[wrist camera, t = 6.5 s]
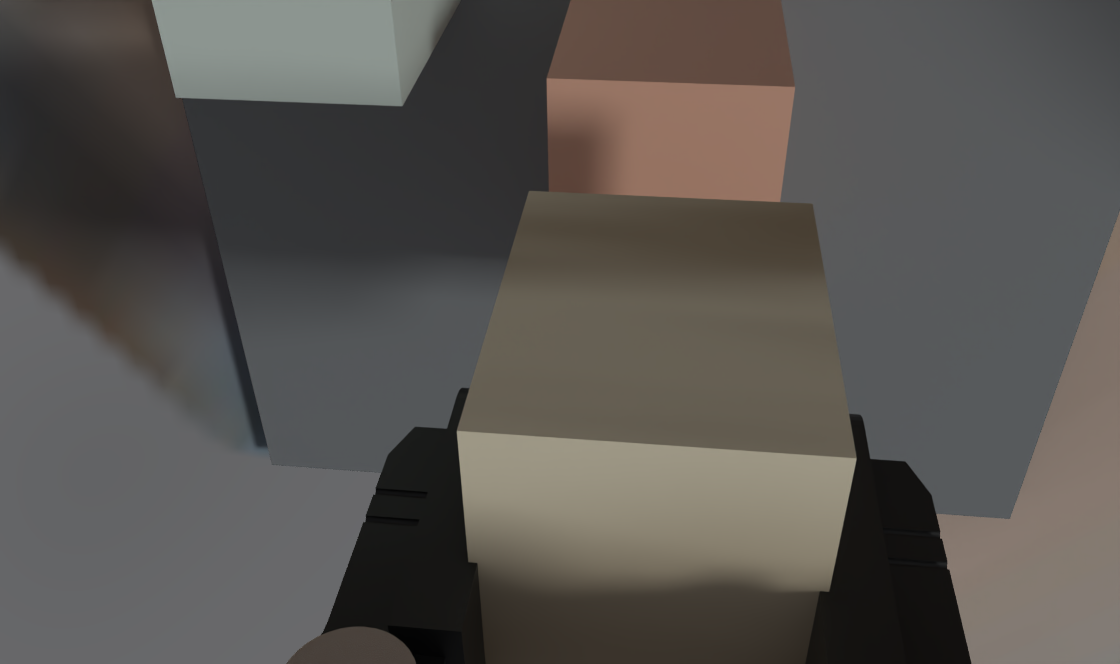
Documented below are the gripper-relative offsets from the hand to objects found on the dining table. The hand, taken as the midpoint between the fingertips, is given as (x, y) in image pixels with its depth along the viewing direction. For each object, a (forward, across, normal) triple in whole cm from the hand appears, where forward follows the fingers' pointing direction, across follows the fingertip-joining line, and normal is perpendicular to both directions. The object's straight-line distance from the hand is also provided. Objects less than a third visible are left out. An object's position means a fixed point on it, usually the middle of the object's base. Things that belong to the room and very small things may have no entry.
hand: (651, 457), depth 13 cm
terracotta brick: (+9, 0, 0) cm, 9 cm away
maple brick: (+2, 0, 0) cm, 2 cm away
